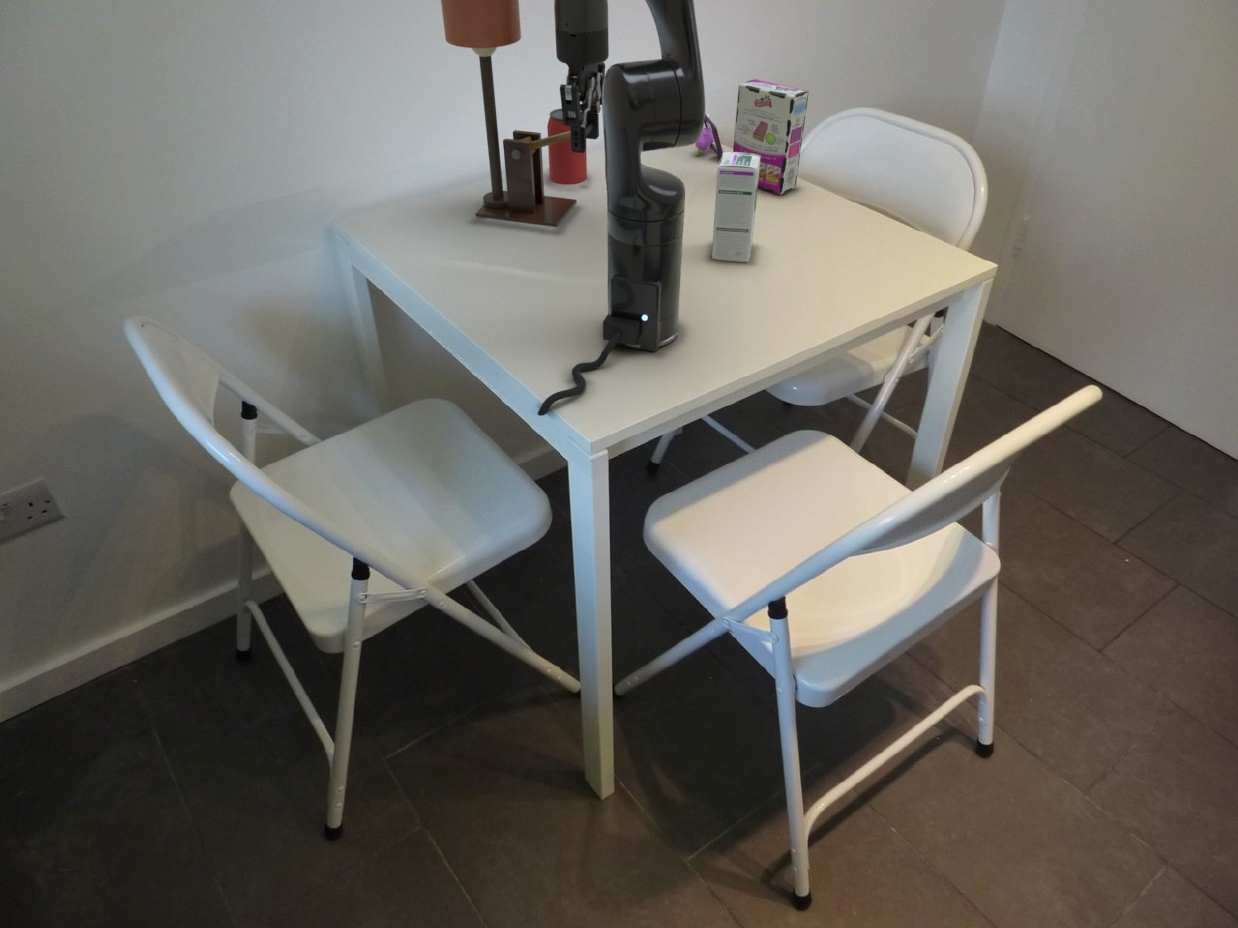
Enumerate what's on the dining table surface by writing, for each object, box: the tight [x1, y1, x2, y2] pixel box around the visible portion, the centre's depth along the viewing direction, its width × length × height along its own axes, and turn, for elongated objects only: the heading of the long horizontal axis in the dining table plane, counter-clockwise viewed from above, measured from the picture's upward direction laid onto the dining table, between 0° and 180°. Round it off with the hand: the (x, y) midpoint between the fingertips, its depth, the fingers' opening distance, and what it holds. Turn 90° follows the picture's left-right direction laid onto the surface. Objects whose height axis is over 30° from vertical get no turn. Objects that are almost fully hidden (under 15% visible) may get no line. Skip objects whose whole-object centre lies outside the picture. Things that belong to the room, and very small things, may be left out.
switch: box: [519, 121, 594, 154], centre depth 130 cm, size 13×6×2 cm, turn 72°
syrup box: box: [711, 151, 760, 263], centre depth 124 cm, size 6×6×14 cm
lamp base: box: [475, 129, 578, 228], centre depth 135 cm, size 14×10×13 cm
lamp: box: [440, 0, 522, 209], centre depth 129 cm, size 11×11×32 cm
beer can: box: [546, 107, 588, 185], centre depth 146 cm, size 7×7×12 cm
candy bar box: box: [732, 78, 810, 196], centre depth 144 cm, size 11×5×16 cm, turn 48°
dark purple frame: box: [694, 113, 724, 159], centre depth 159 cm, size 7×5×9 cm
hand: (585, 144), depth 129 cm, fingers closed on switch, 5 cm apart
